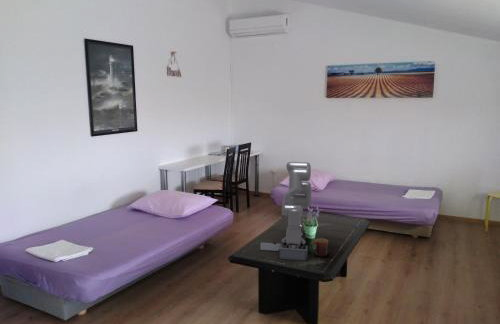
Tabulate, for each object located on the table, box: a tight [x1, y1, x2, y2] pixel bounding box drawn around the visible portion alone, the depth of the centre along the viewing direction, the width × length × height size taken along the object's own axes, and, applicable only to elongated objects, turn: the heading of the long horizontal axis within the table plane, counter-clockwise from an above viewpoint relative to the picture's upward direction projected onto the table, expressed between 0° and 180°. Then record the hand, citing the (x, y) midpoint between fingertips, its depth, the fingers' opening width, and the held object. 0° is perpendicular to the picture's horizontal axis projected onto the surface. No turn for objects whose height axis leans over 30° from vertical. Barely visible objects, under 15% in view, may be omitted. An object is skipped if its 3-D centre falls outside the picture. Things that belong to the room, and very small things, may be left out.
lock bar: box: [260, 241, 281, 252], centre depth 275 cm, size 2×14×6 cm, turn 80°
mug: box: [310, 237, 329, 258], centre depth 266 cm, size 12×9×10 cm
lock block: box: [288, 244, 299, 249], centre depth 266 cm, size 8×6×6 cm
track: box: [258, 248, 279, 253], centre depth 276 cm, size 3×14×1 cm, turn 80°
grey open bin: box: [278, 243, 308, 261], centre depth 265 cm, size 12×18×7 cm, turn 80°
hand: (293, 251), depth 266 cm, fingers open, 7 cm apart
